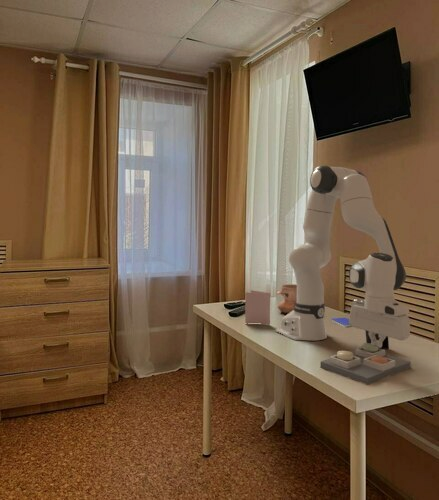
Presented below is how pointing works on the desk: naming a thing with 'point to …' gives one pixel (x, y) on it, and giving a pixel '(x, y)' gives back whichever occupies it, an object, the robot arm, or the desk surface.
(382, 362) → the terracotta button
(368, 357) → the button console
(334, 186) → the robot arm
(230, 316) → the desk surface
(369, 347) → the sage button
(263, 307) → the greeting card
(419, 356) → the desk surface
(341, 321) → the hard drive
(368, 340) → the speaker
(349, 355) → the sand button
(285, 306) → the ceramic jug
